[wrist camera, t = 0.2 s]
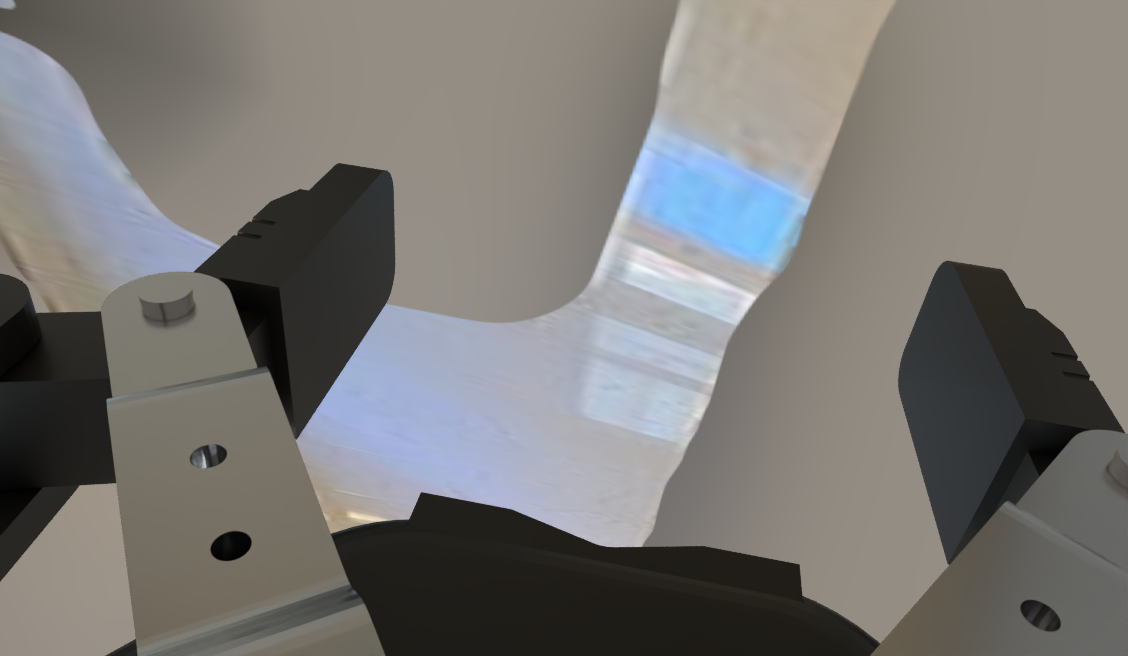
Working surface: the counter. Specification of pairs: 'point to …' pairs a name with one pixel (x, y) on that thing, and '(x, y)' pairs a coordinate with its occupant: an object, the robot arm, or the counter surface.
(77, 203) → the counter surface
